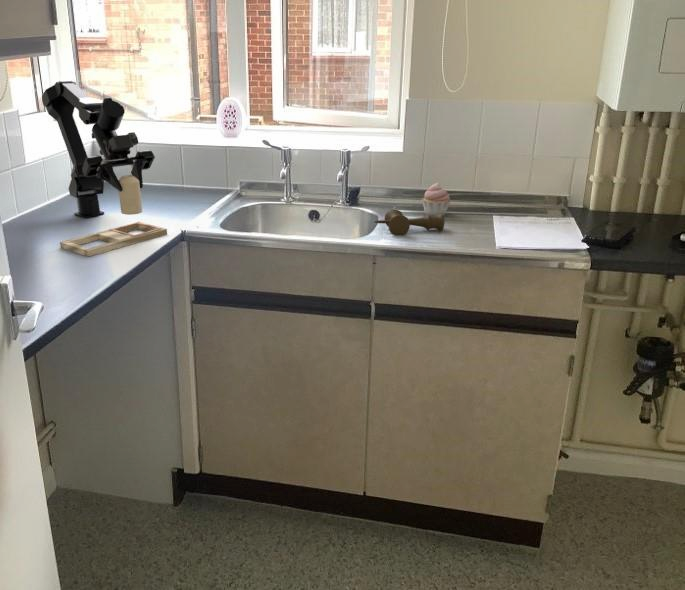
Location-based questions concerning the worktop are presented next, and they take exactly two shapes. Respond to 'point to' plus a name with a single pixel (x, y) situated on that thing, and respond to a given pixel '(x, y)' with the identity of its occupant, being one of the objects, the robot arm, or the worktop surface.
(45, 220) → the worktop surface
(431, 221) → the kendama
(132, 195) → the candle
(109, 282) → the worktop surface
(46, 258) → the worktop surface
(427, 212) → the cupcake
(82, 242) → the rail frame
